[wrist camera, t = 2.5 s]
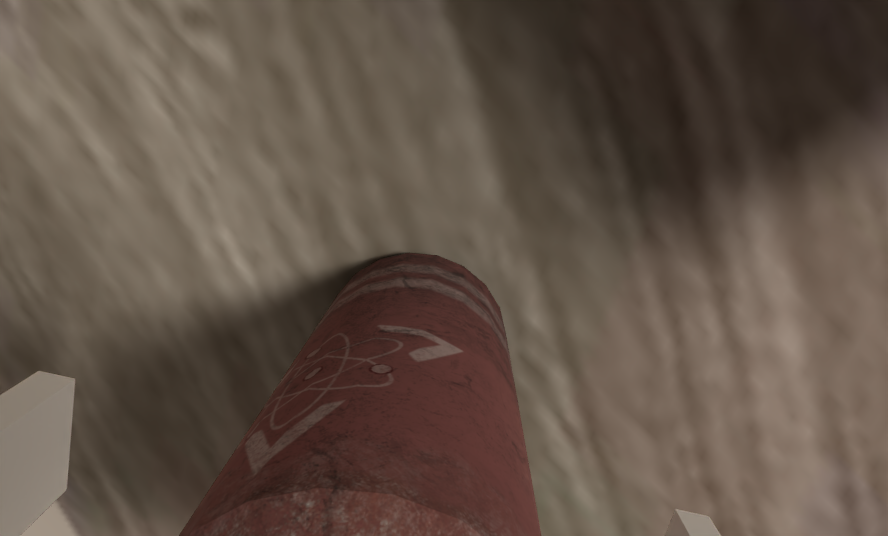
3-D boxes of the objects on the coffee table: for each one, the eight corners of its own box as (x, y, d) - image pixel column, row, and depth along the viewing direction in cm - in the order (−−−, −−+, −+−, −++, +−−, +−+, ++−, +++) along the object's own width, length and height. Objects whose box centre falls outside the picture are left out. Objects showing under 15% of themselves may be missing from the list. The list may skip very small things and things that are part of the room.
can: (304, 378, 22) (40, 837, 8) (369, 221, 20) (170, 468, 6) (458, 441, 22) (447, 971, 9) (533, 291, 20) (664, 659, 7)
